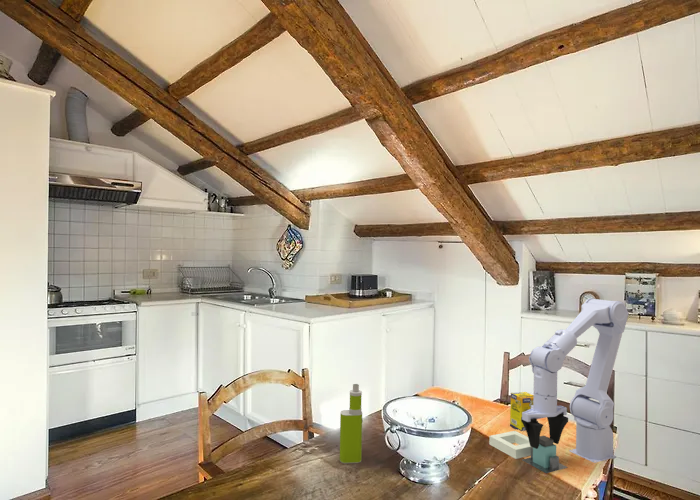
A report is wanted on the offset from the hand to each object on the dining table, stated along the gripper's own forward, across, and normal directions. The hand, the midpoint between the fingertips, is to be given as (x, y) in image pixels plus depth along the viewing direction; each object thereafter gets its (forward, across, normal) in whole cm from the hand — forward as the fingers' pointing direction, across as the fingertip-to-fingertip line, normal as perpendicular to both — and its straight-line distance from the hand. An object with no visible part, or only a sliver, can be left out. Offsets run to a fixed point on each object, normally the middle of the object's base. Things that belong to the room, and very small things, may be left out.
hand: (544, 444), depth 115 cm
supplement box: (+6, -15, -21) cm, 26 cm away
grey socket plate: (+6, 0, 0) cm, 6 cm away
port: (+6, 0, -10) cm, 11 cm away
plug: (+5, 0, 0) cm, 5 cm away
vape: (+6, +46, -23) cm, 52 cm away
